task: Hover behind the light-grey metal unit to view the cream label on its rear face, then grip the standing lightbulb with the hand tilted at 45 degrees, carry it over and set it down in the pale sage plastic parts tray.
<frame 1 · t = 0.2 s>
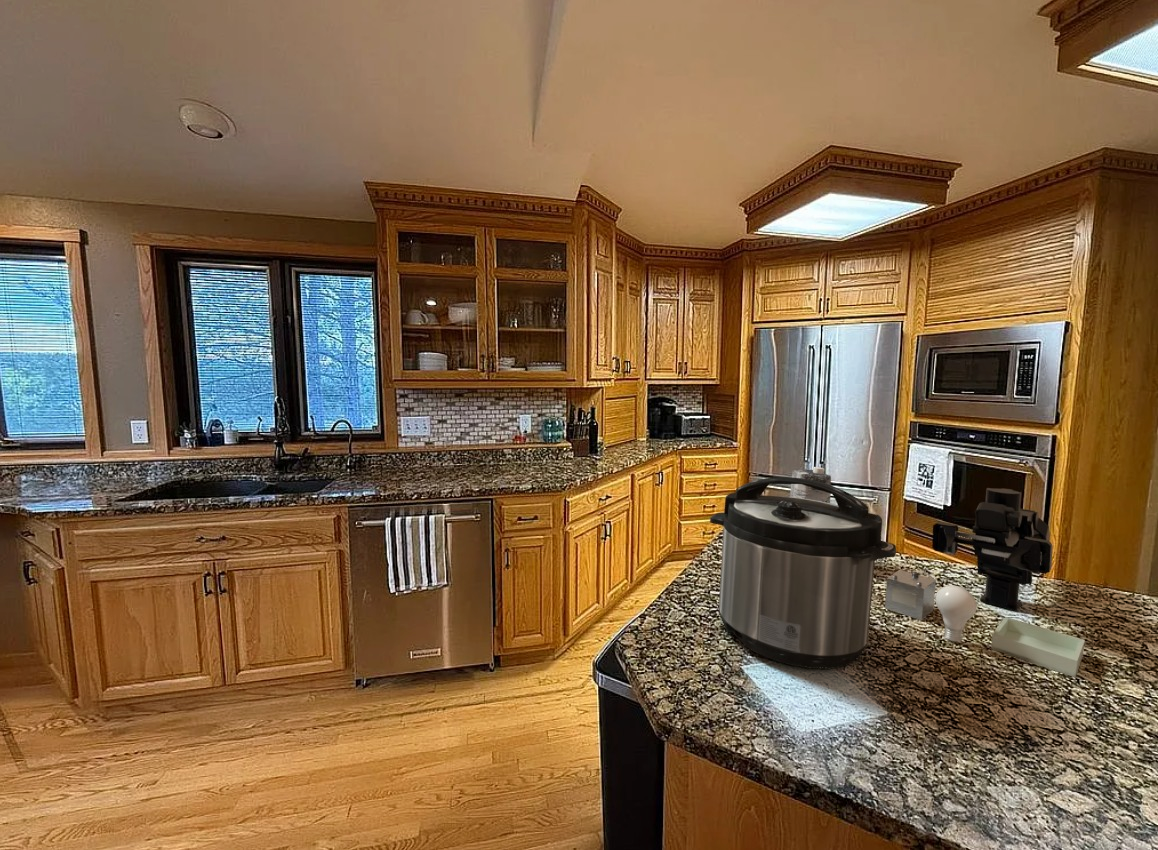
hand: (977, 555, 93), 17 cm above the table, tool horizontal, fingers open, 9 cm apart
tray: (1036, 652, 90), on the table
lightbulb: (952, 641, 93), on the table
unit: (909, 609, 107), on the table
pressure cooker: (789, 634, 95), on the table
juice carton: (806, 560, 137), on the table
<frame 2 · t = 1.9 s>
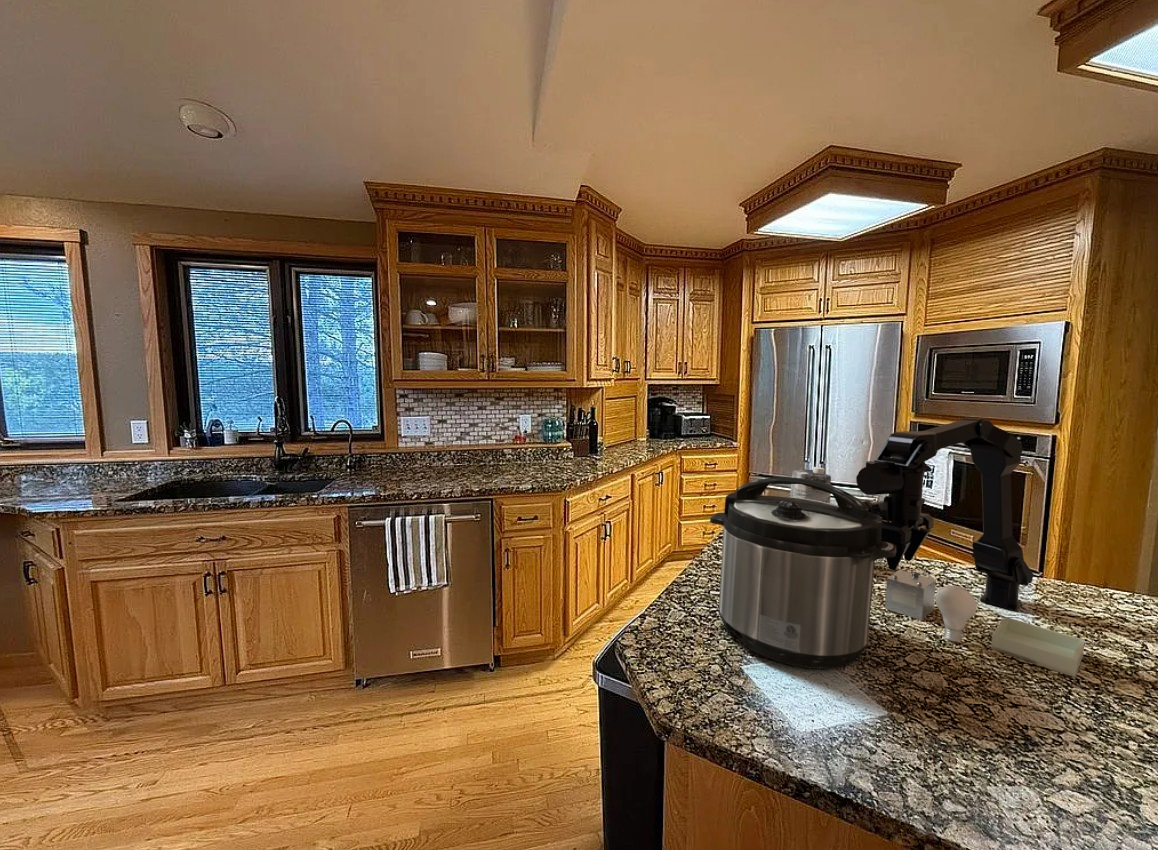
hand: (900, 565, 101), 12 cm above the table, tool pointing down, fingers open, 9 cm apart
nothing on the table moved.
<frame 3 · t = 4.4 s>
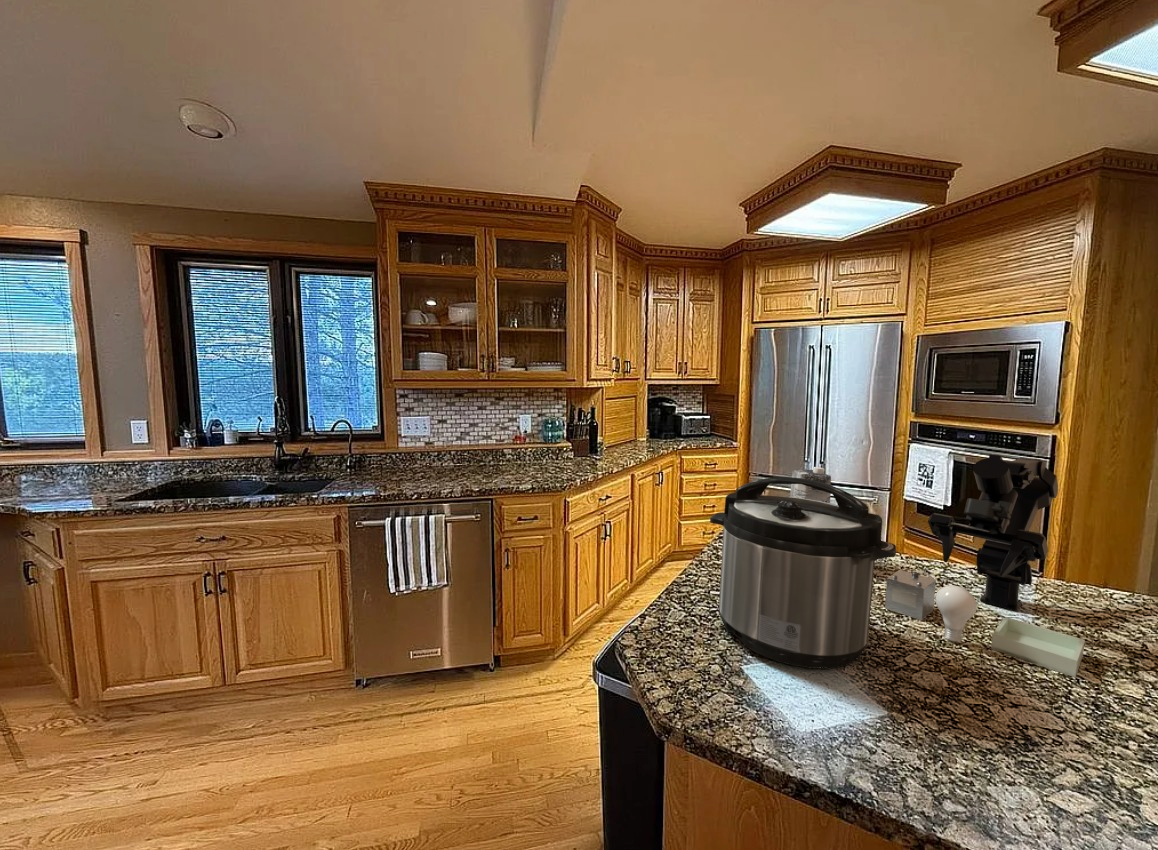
hand: (971, 568, 97), 13 cm above the table, tool tilted 45°, fingers open, 9 cm apart
nothing on the table moved.
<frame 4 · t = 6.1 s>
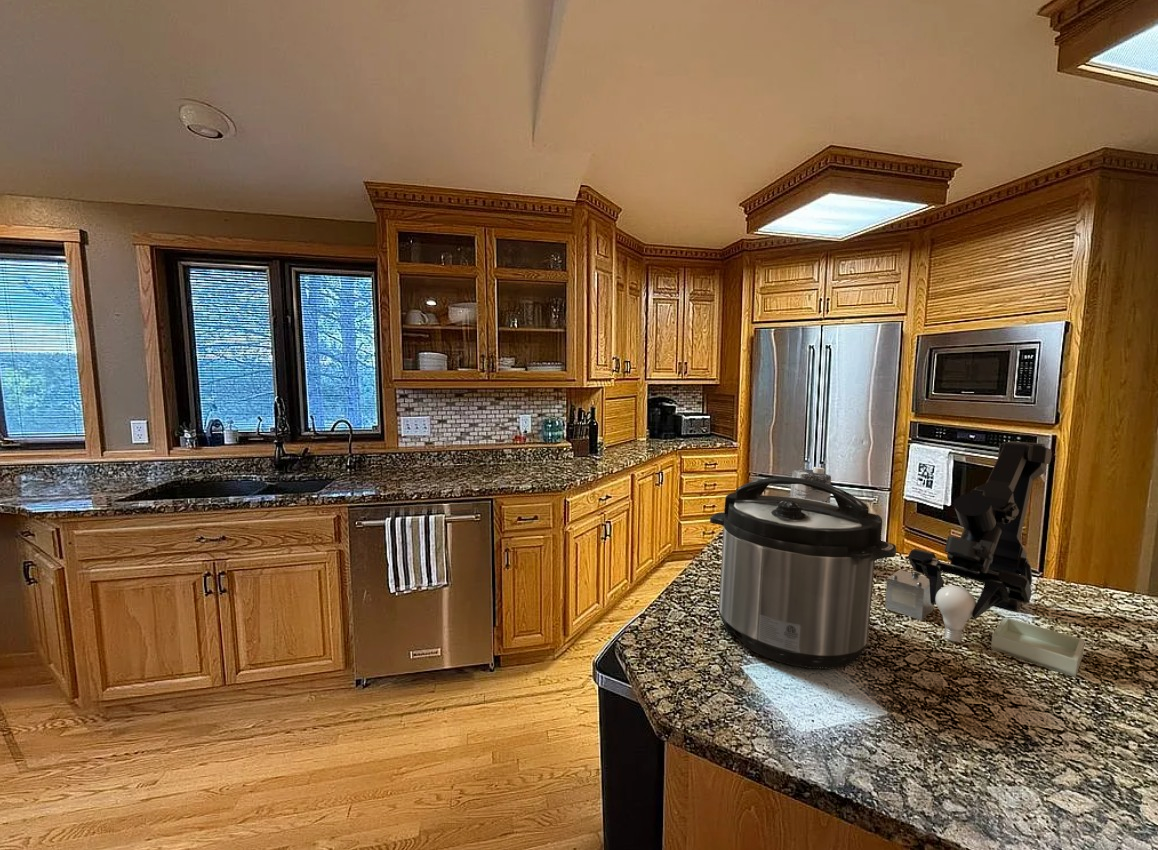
hand: (952, 610, 92), 7 cm above the table, tool tilted 45°, fingers closed on lightbulb, 6 cm apart
lightbulb: (952, 642, 93), on the table, touching gripper
everything else where it was.
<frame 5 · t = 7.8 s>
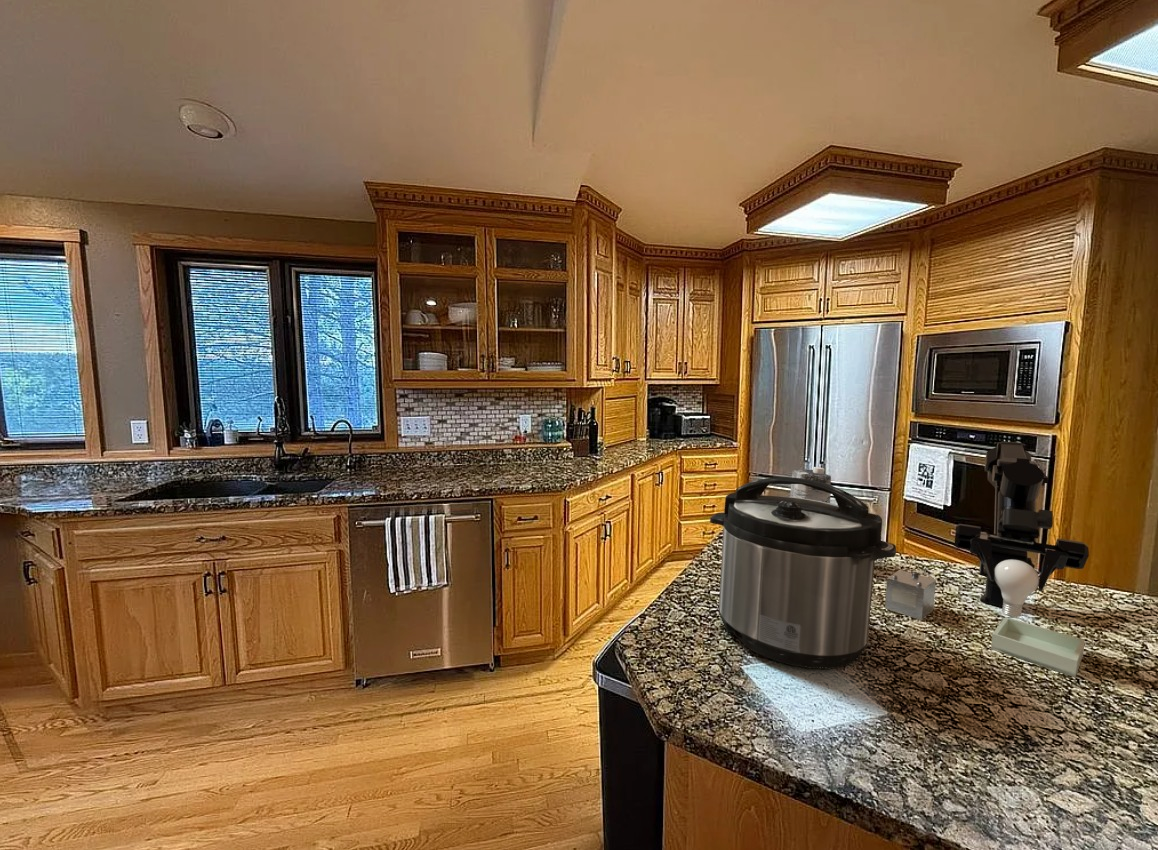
hand: (1015, 585, 88), 13 cm above the table, tool tilted 45°, fingers closed on lightbulb, 6 cm apart
lightbulb: (1011, 617, 90), point 6 cm above the table, touching gripper
everything else where it was.
when the fingers open (8 cm above the table, at t = 9.6 s): lightbulb stays where it is, resting on tray.
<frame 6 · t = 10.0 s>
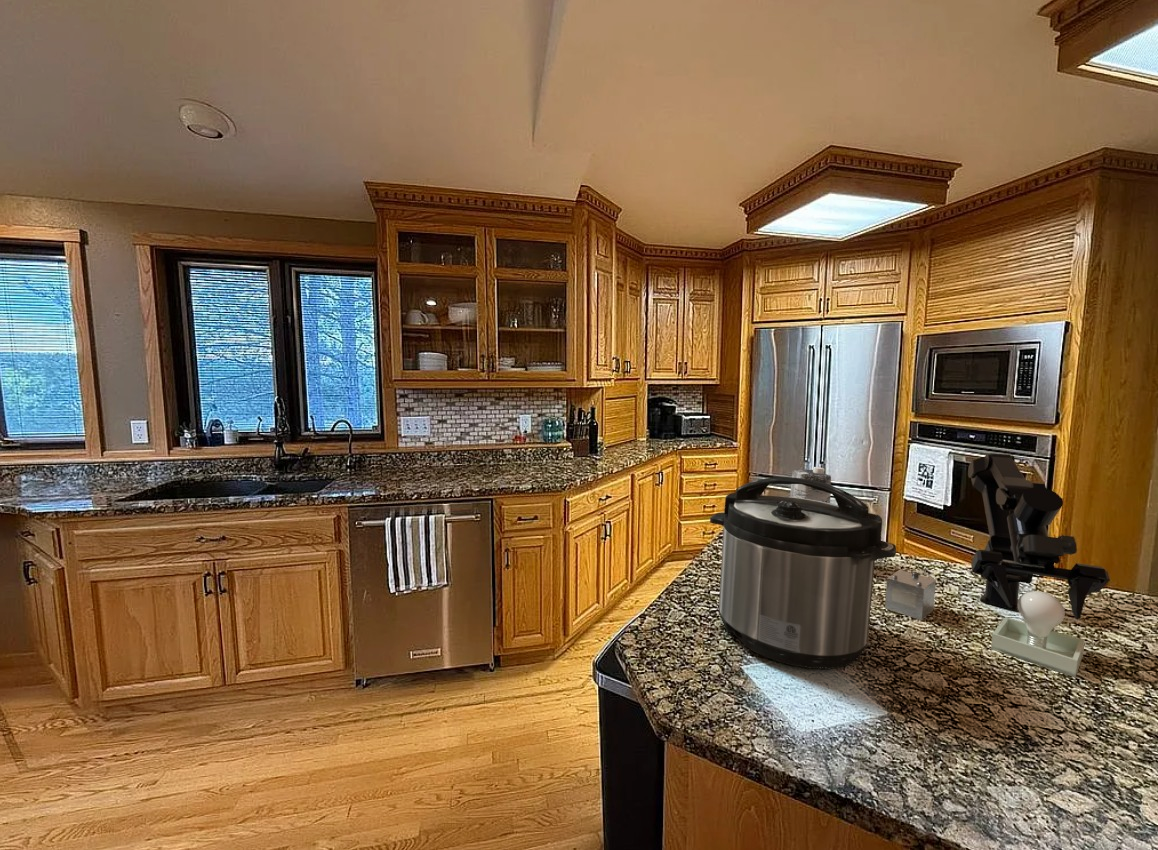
hand: (1043, 612, 88), 8 cm above the table, tool tilted 45°, fingers open, 9 cm apart
lightbulb: (1035, 649, 90), resting on tray
everything else where it was.
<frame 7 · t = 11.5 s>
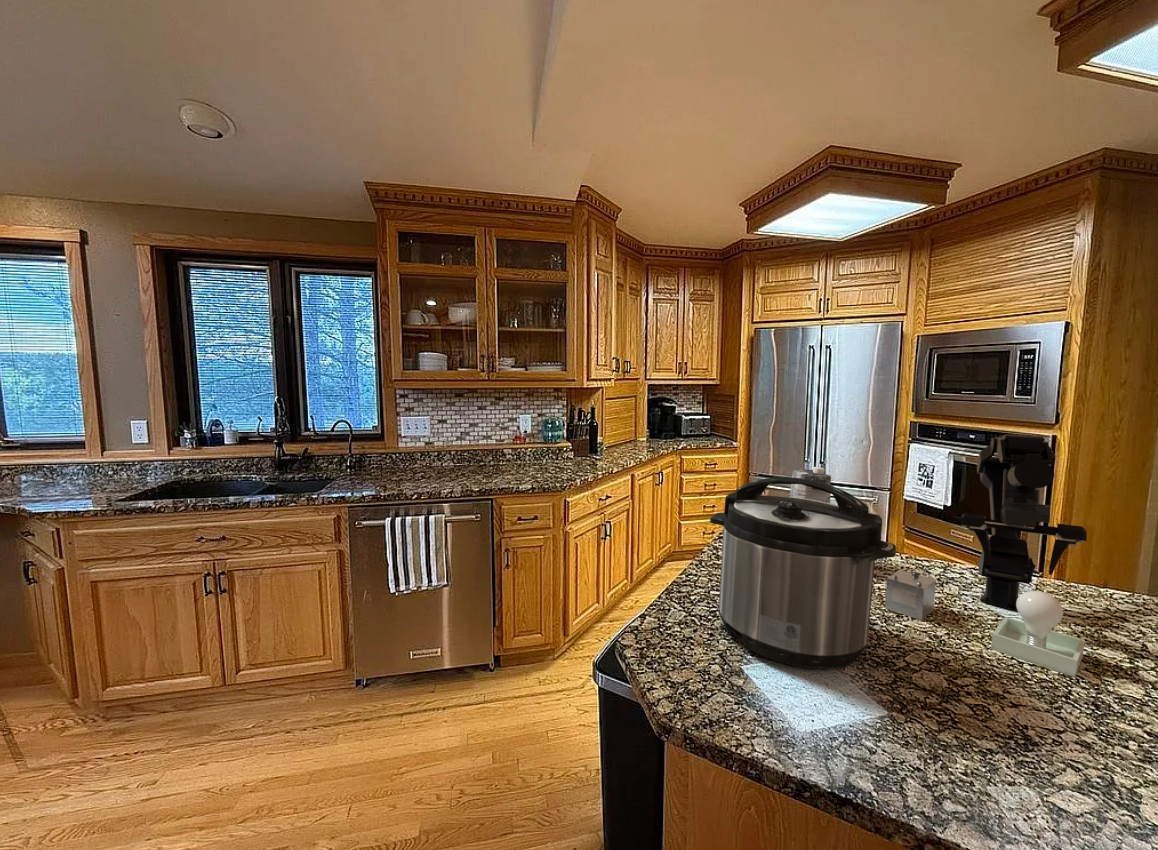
hand: (1018, 569, 97), 13 cm above the table, tool tilted 15°, fingers open, 9 cm apart
nothing on the table moved.
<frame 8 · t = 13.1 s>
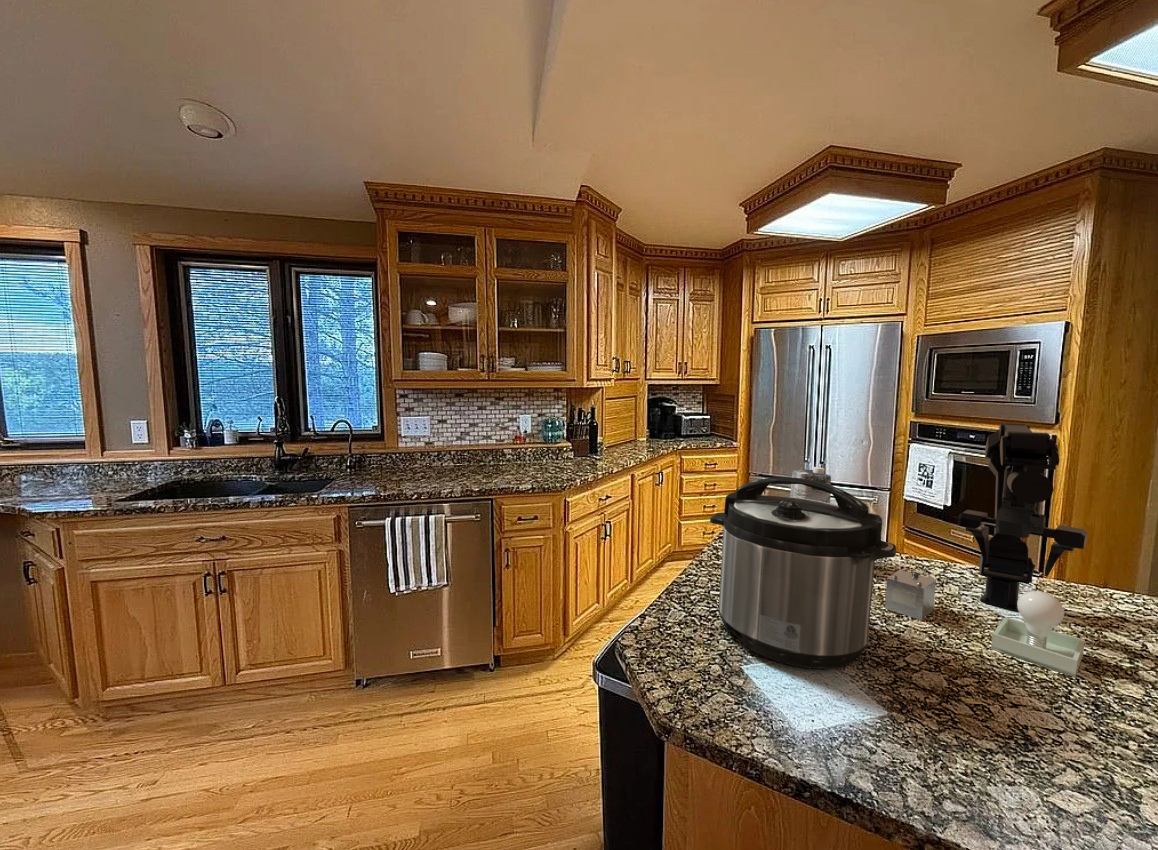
hand: (1015, 568, 97), 13 cm above the table, tool pointing down, fingers open, 9 cm apart
nothing on the table moved.
at the end: lightbulb inside the target area on the tray (0.3 cm from its centre), point 0.4 cm above the tray's base; the gripper is holding nothing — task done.
